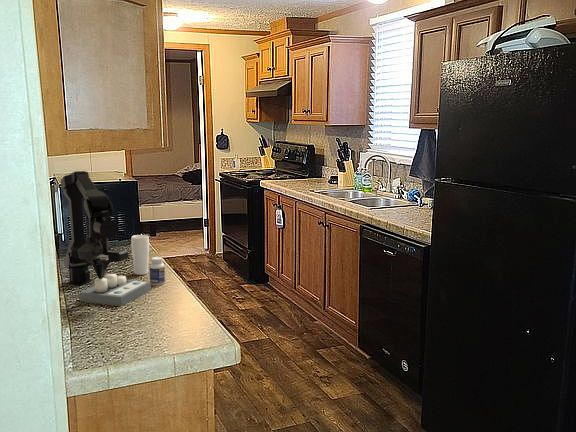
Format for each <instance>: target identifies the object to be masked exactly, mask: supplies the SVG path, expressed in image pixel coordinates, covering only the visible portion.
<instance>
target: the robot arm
mask: <svg viewBox="0 0 576 432" xmlns="http://www.w3.org/2000/svg"><path fill="white" fill-rule="evenodd" d="M60 188H61V189H62V192H63V196H64V197H65V198H66V199H67V200H68V210H69V223H70V225H69V226H70V235H71V237H70V238H71V241H70V242H69V244H68V246H67V252H66V255H65V258H64V267H65V268H67V269H68V278H69V281H66V284H68V285H75V286H77V285H78V286H83V285H85V284H87V283H90V282H92V281H93V279H92V278H91V276H90V275H91V274H90V269H89V267H93V269H94V271H95V274H96V275H97V279H98V278H99V279H102V278H104V277H105V275H106V271H107V269H108V267H109V265H110V263H111V262H115V263H119V262H120V263H121V262H122V261H125V260H127V259H129V252H128V250H127V249H118V248H117V249H115V250H112V248H111V247H112V246H109V239H111V238H113V237H115V236H116V235H117V234H118V230H119V227H118V225H117V223H116V222H115V221H113V220H112V217H115V209H114V207H113V204H112V202H111V200H110V198H109V196H108V195H107V194H106V193H105V192H104V191H101V190H98V189H97V187H96V186H95V184H94V182H93V181H92V180H91V178H90V176H89V172H88V171H86V170H81V171H80V170H79V171H77V170H76V171H73V172H71V173H69V174H66V175H65V176H63V177H62V178H61V180H60ZM83 199H84V200H83ZM83 208H84V209H83ZM84 210H85V213H86V216H87V218H88V228H89V229H88V231H89V232H88V233H89V236H86V235H85V232H86V231H85V222H84ZM111 250H112V251H111Z"/></svg>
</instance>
